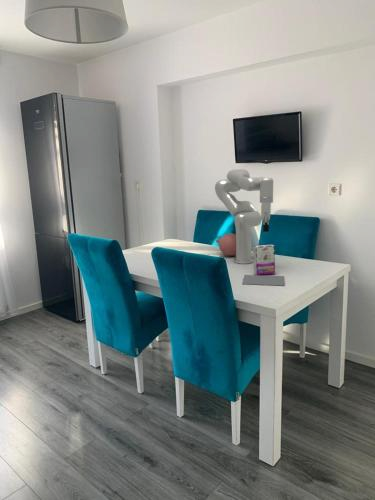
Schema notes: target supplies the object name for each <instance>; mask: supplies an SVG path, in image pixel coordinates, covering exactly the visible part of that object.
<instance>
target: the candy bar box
mask: <svg viewBox="0 0 375 500" xmlns="http://www.w3.org/2000/svg"><path fill="white" fill-rule="evenodd" d="M252 249H253V250H252V251H253V252H252V253H253V273H254V274H253V275H266V276H267V275H275V274H276V269H275V268H276V262H275V260H276V259H275V258H276V257H275V245H274V244H264V245H262V244H261V245H253V247H252Z"/></svg>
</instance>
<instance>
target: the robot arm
mask: <svg viewBox="0 0 375 500" xmlns="http://www.w3.org/2000/svg"><path fill="white" fill-rule="evenodd" d="M226 178H227V179H221V180H218V181H216V183H215V185H214V190H215V194H216V197H217V198H218V199H219V200H220V201H221V202H222V204H223V205H224V206H225V208H226V209H227V211H228V212H229V213H230V215H231V216H233V217H234V226H235V235H236V255H235V258H234V259H233V262H234V263H236V264H239V265H240V264H241V265H243V264H252V263H254V258H252V233H251V231H250V229H249V228H252V227H253V228H254V227H257V226H258V227H259V225H262V224H261V223H262V221H263V226H262V227H263V228H262V232H264V233H265V232H268V233H269V232H270V230H269V229H270V224H269V223H270V222H269V221H270V219H271V211H272V208H271V207H272V204H273V203H274V180H273V178H272V177H271V178H270V177H262V176H261V177H250V173H249V171H248V170H247V169H244V168H241V169H237V168H236V169H231V170H229V171H228V172H227V174H226ZM241 190H244V191H247V192H254V191H259V204H260V203H261V206H260V212H259V210H257V208H256V207H255V205H254V204H253V203H252V202H251V201H248V200H238V199H237V198H236V196H235V195H234V194H232V193H236V192H239V191H241Z"/></svg>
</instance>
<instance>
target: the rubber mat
mask: <svg viewBox="0 0 375 500" xmlns="http://www.w3.org/2000/svg"><path fill="white" fill-rule="evenodd" d="M285 283H286V281H285V275H267V274H266V275H255V274H244V276H243V280H242V283H241V284H242V285H244V286H245V285H247V286H269V287H270V286H271V287H272V286H273V287H274V286H276V287H286V284H285Z"/></svg>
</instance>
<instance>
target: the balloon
mask: <svg viewBox="0 0 375 500" xmlns="http://www.w3.org/2000/svg"><path fill="white" fill-rule="evenodd" d="M215 242H216V243H217V245H218V247H219V250H220V253H222V254H223V255H224V256H227V257H233V256H234V257H235V256H236V233H227V234H223V236H222V237H221V238H216V239H215Z"/></svg>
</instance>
